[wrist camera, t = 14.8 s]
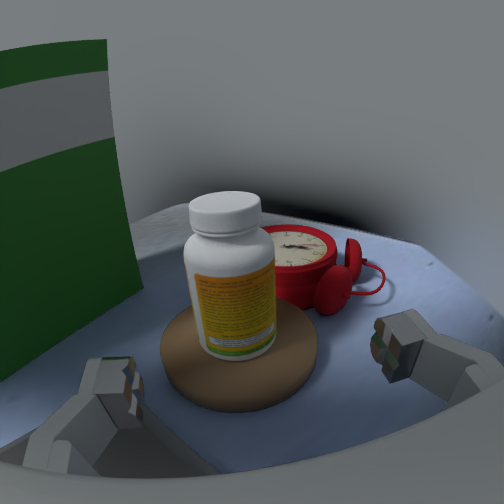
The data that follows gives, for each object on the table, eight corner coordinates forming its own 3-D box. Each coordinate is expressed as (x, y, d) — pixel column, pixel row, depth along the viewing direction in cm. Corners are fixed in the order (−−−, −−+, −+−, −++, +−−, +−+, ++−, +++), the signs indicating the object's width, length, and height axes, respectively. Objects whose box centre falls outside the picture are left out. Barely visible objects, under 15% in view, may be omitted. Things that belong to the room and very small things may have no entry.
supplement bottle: (292, 339, 21) (294, 199, 17) (226, 376, 19) (205, 226, 14) (246, 304, 25) (237, 182, 21) (186, 332, 22) (161, 201, 18)
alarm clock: (254, 218, 37) (387, 208, 28) (267, 268, 39) (393, 267, 30) (197, 257, 29) (367, 254, 20) (217, 316, 31) (373, 330, 23)
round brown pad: (137, 355, 22) (131, 340, 22) (237, 292, 30) (235, 278, 29) (244, 443, 16) (242, 430, 15) (343, 340, 23) (346, 325, 22)
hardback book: (105, 269, 35) (70, 60, 24) (143, 287, 31) (106, 39, 20) (-19, 344, 22) (-89, 102, 11) (-1, 382, 18) (-96, 81, 7)
